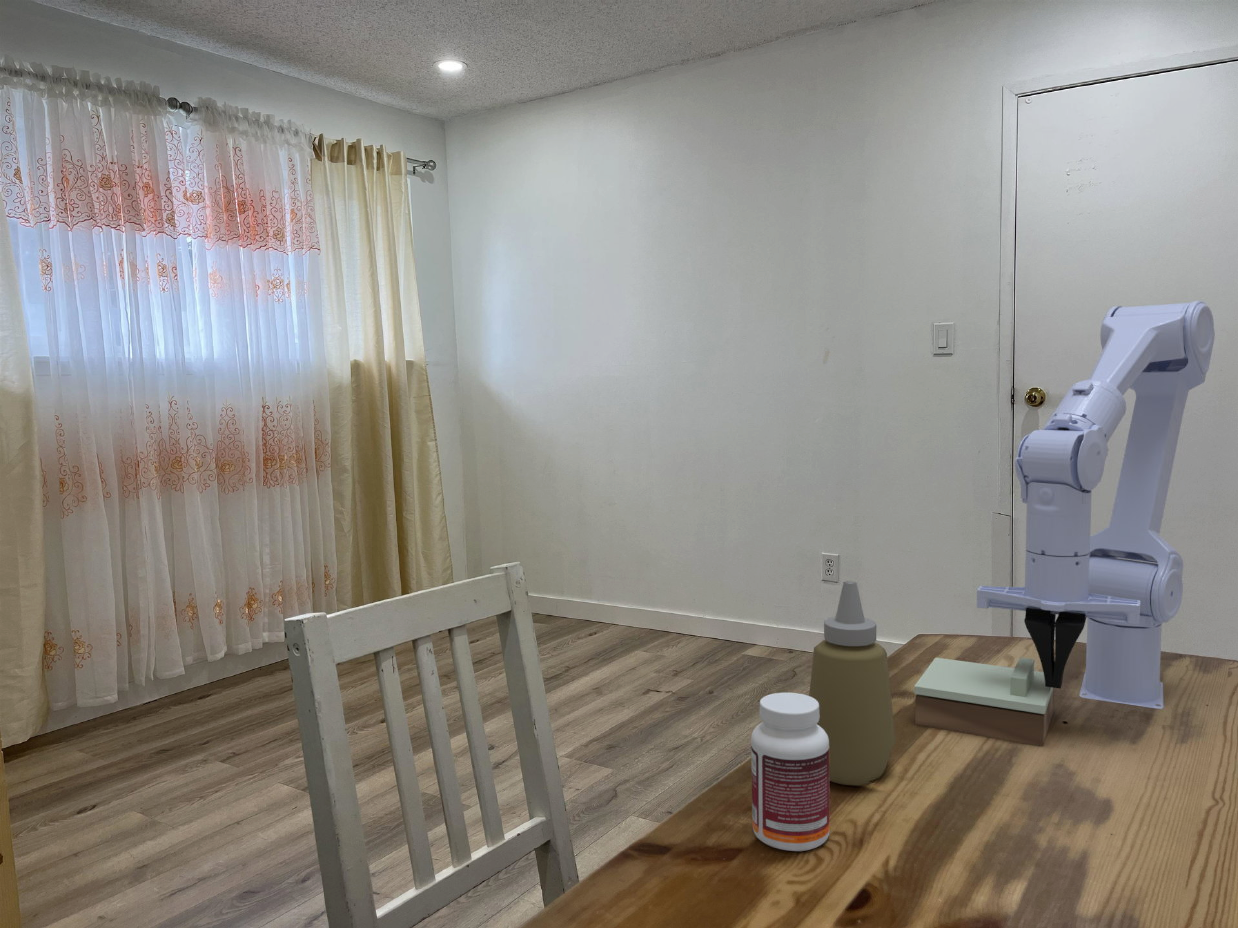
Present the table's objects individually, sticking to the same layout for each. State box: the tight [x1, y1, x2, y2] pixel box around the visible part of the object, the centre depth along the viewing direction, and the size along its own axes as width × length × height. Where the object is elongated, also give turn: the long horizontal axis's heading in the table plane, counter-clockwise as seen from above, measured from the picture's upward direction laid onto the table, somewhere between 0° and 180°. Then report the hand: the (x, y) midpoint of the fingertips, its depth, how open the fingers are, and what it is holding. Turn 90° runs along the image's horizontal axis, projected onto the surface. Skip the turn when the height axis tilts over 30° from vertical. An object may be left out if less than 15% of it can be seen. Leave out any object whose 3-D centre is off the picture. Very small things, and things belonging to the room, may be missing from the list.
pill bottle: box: [750, 692, 831, 852], centre depth 73 cm, size 6×6×11 cm
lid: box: [913, 657, 1053, 714], centre depth 94 cm, size 10×12×3 cm
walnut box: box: [914, 688, 1055, 747], centre depth 95 cm, size 10×12×4 cm
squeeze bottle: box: [808, 581, 896, 786], centre depth 83 cm, size 8×8×18 cm
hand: (1053, 684), depth 91 cm, fingers closed
